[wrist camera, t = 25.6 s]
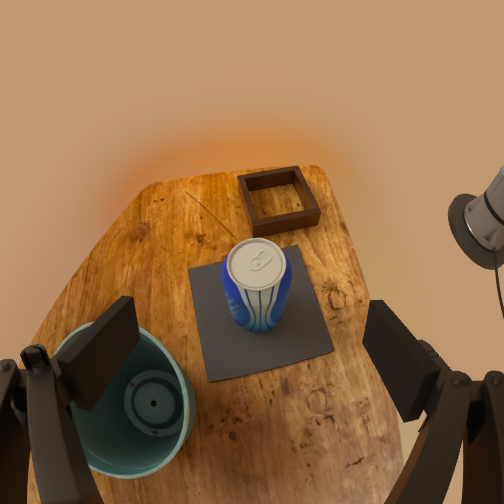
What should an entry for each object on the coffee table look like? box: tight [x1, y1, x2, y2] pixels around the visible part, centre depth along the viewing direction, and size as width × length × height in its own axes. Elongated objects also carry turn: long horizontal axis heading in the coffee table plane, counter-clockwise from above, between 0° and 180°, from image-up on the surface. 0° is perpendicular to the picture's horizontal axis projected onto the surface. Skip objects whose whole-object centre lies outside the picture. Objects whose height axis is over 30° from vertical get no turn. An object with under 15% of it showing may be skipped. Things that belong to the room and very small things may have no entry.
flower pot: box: [54, 322, 196, 479], centre depth 31 cm, size 18×18×17 cm
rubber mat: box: [188, 245, 334, 383], centre depth 46 cm, size 20×20×1 cm
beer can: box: [221, 238, 292, 332], centre depth 38 cm, size 8×8×16 cm
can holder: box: [237, 166, 321, 238], centre depth 55 cm, size 13×13×4 cm
